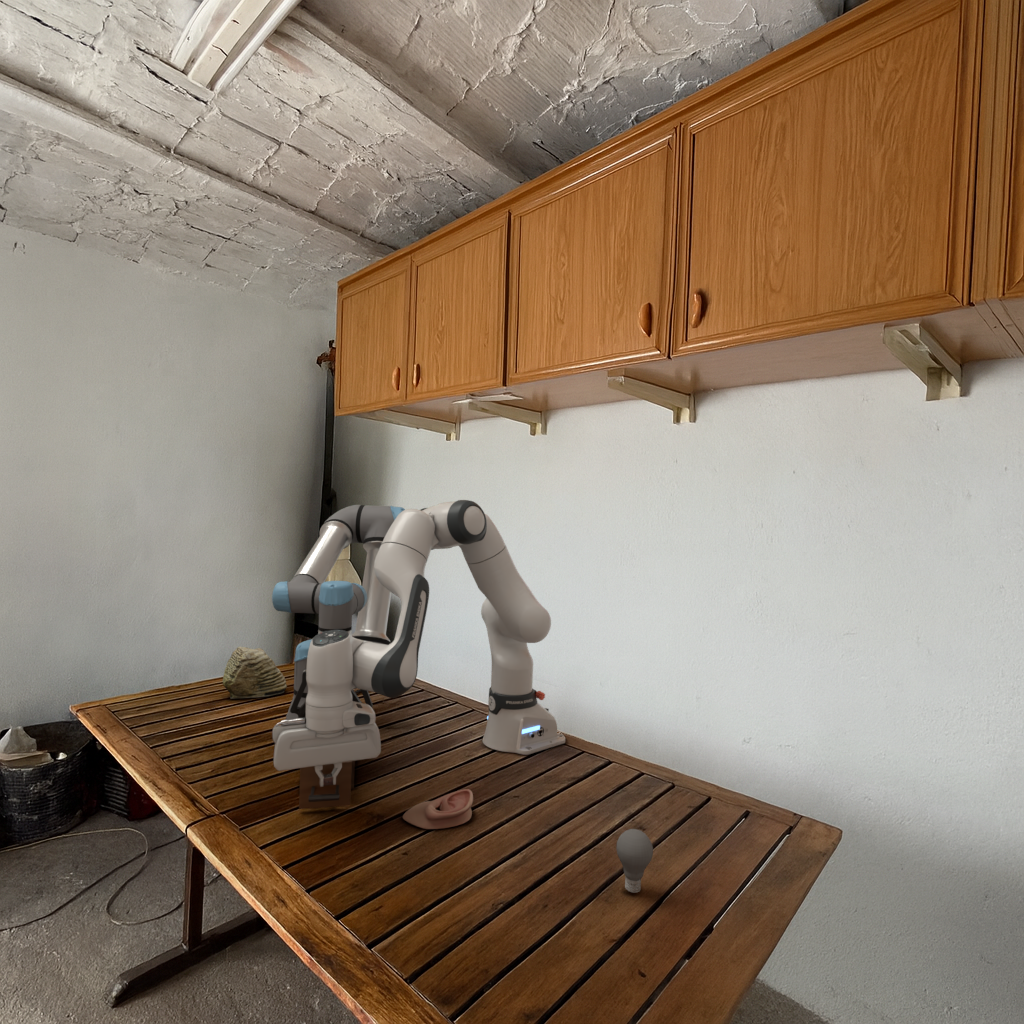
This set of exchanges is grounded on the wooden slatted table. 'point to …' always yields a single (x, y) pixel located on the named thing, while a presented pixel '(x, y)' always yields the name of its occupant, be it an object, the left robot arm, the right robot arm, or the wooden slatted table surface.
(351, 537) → the left robot arm
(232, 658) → the fossil
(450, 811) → the anatomical model
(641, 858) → the light bulb
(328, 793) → the drawer
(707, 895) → the wooden slatted table surface
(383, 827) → the wooden slatted table surface
